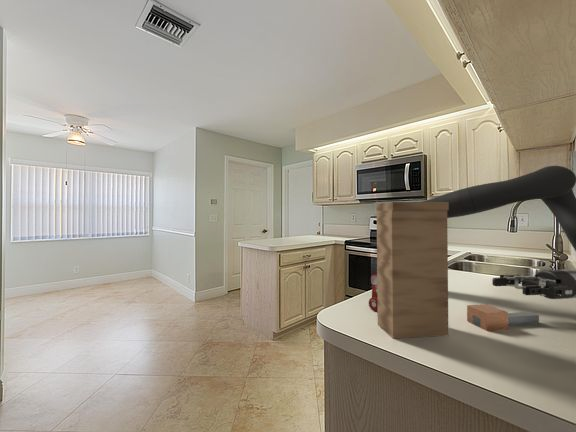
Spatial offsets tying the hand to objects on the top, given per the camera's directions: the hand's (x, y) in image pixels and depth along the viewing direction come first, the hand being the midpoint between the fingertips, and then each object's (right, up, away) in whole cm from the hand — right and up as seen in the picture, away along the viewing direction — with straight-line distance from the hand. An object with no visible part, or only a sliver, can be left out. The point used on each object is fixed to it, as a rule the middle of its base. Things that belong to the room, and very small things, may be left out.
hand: (507, 286), depth 69 cm
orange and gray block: (-1, -10, 0) cm, 10 cm away
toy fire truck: (-28, -11, +10) cm, 31 cm away
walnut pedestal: (-27, -10, -3) cm, 29 cm away
